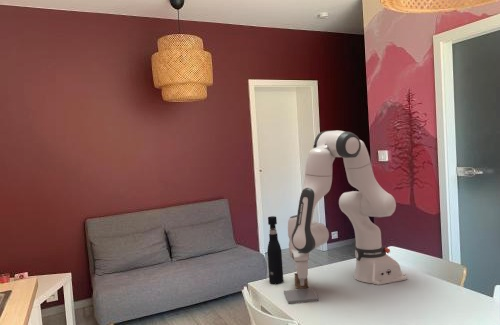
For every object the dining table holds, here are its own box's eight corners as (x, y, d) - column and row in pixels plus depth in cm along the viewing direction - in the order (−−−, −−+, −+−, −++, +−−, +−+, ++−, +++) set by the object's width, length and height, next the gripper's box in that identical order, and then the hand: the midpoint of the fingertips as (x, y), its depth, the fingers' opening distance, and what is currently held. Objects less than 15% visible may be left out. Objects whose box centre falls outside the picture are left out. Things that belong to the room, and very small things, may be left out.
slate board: (311, 290, 160) (311, 288, 160) (318, 301, 149) (318, 298, 149) (283, 293, 159) (283, 290, 159) (288, 304, 148) (288, 301, 148)
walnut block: (306, 283, 169) (305, 272, 169) (308, 287, 164) (307, 276, 164) (295, 284, 169) (294, 273, 169) (296, 288, 164) (295, 277, 164)
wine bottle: (283, 279, 176) (279, 215, 175) (283, 284, 170) (278, 218, 169) (269, 279, 177) (265, 216, 176) (269, 284, 171) (264, 218, 170)
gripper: (290, 245, 176) (292, 274, 177) (294, 258, 156) (296, 291, 156) (303, 244, 176) (305, 274, 177) (309, 257, 156) (311, 290, 156)
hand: (301, 282), depth 166 cm, fingers closed on walnut block, 5 cm apart
